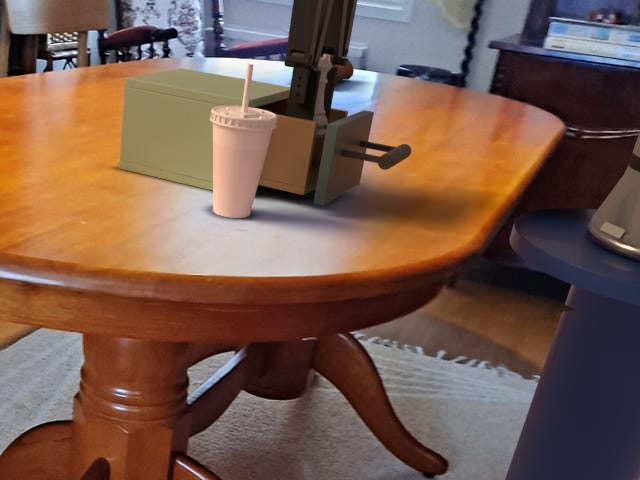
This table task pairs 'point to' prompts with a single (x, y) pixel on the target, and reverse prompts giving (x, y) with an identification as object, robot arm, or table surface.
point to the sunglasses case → (344, 72)
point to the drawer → (322, 153)
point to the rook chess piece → (322, 96)
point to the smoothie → (239, 153)
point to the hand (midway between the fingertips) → (305, 131)
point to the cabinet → (180, 121)
